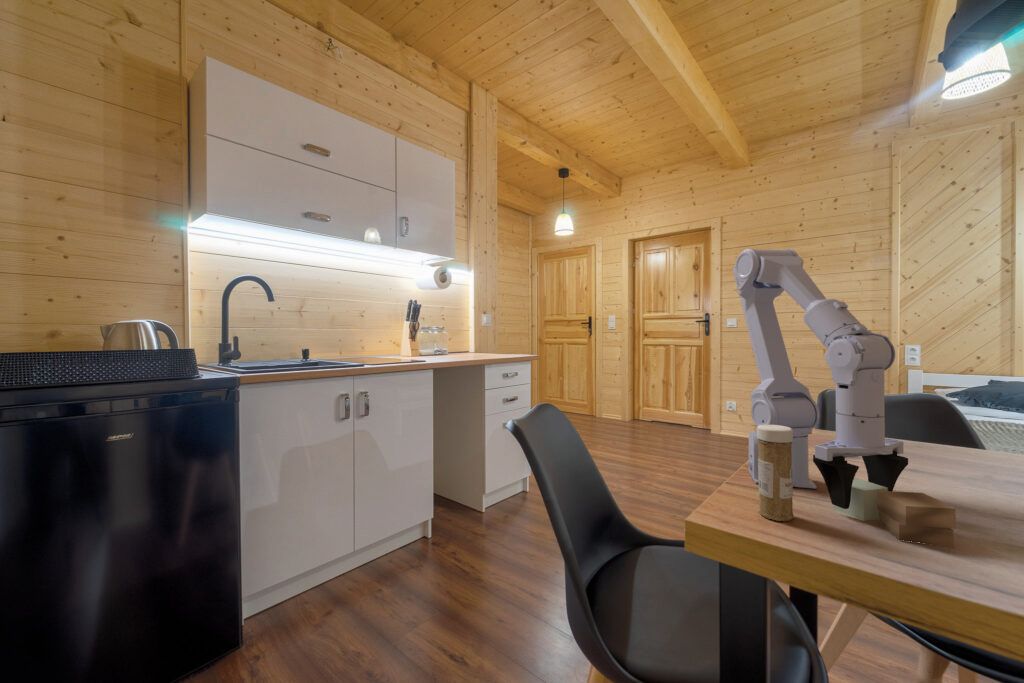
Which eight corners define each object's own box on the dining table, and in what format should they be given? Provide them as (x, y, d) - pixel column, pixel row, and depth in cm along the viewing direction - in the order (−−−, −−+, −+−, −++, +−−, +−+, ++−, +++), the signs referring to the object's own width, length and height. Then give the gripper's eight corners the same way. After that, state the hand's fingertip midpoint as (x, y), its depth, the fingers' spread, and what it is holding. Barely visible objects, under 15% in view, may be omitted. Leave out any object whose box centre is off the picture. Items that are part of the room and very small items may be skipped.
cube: (864, 521, 61) (863, 490, 61) (833, 509, 65) (833, 480, 65) (887, 518, 62) (887, 487, 62) (856, 506, 66) (856, 478, 66)
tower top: (905, 526, 55) (905, 506, 55) (877, 508, 60) (877, 490, 60) (955, 528, 54) (955, 508, 54) (922, 511, 59) (922, 492, 59)
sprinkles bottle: (798, 524, 60) (797, 430, 60) (762, 520, 62) (761, 429, 62) (788, 511, 65) (787, 424, 65) (754, 508, 66) (753, 422, 66)
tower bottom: (899, 544, 55) (898, 524, 55) (879, 526, 60) (879, 508, 60) (953, 550, 53) (953, 530, 53) (928, 531, 58) (928, 513, 58)
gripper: (847, 422, 58) (848, 520, 58) (926, 416, 61) (927, 508, 61) (802, 413, 65) (802, 500, 65) (875, 408, 68) (875, 491, 68)
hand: (860, 503), depth 64 cm, fingers open, 7 cm apart
